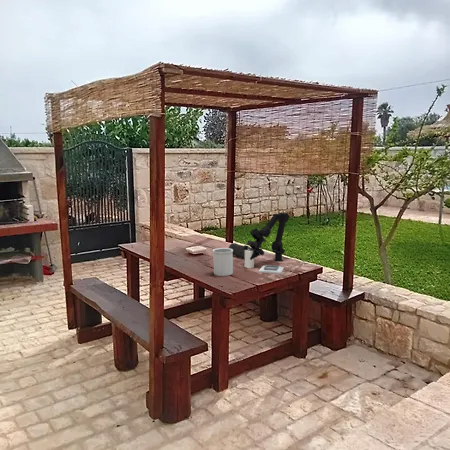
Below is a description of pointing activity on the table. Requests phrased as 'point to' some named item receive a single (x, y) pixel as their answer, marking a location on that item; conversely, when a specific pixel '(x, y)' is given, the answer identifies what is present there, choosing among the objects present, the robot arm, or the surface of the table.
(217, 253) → the utensil holder
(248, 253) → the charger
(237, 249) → the muzzle brake
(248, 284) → the table surface
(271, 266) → the dock plate
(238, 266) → the table surface
